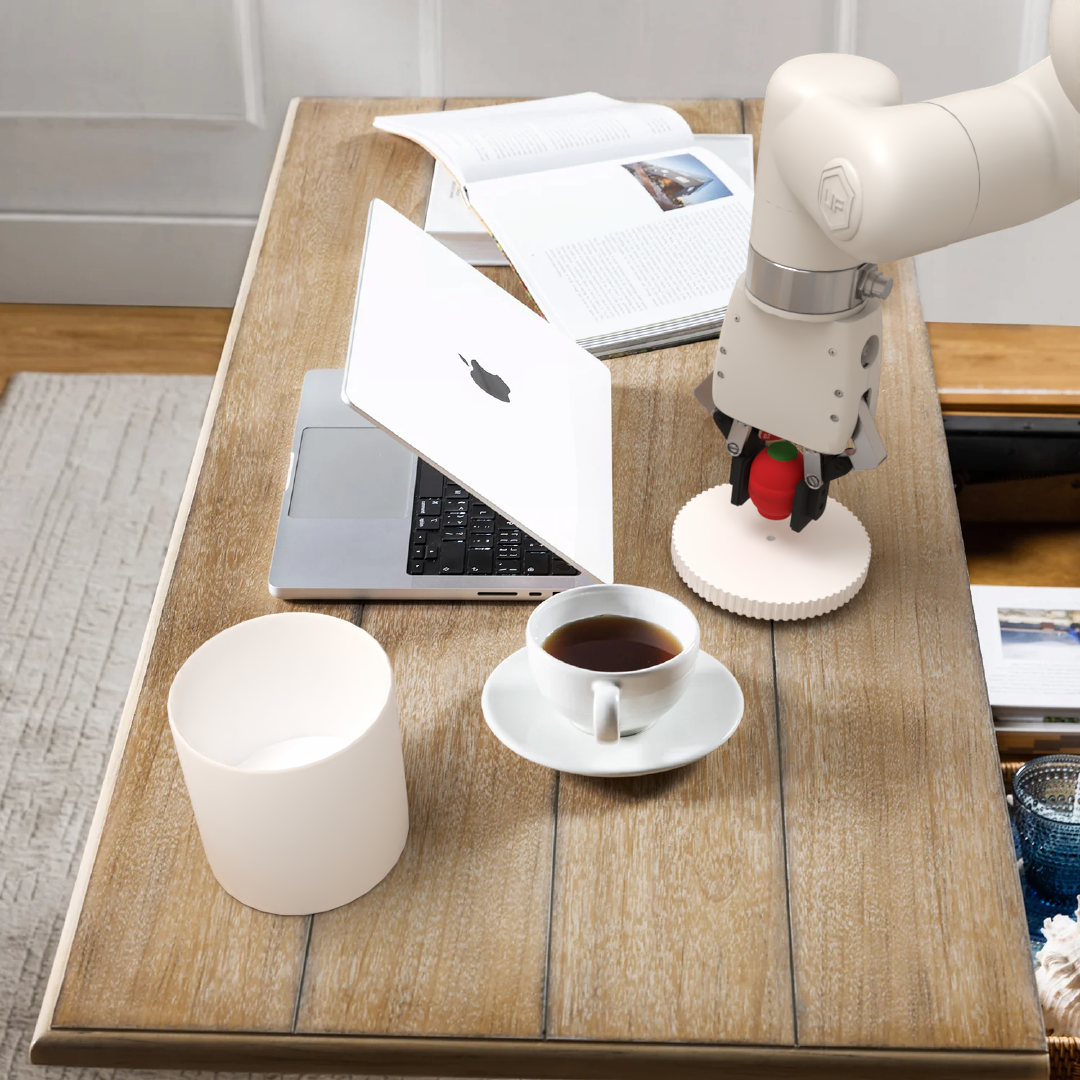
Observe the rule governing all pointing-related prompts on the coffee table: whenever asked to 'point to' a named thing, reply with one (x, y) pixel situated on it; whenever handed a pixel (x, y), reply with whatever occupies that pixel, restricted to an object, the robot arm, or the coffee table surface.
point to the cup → (293, 760)
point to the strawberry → (775, 479)
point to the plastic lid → (768, 557)
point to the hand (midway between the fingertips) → (775, 506)
